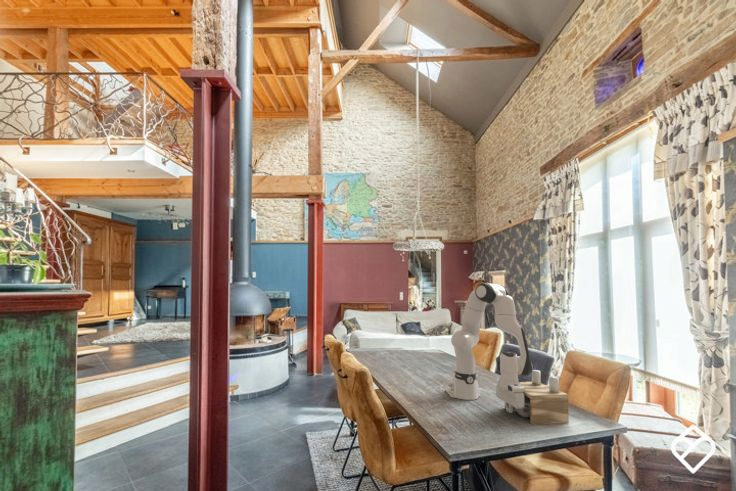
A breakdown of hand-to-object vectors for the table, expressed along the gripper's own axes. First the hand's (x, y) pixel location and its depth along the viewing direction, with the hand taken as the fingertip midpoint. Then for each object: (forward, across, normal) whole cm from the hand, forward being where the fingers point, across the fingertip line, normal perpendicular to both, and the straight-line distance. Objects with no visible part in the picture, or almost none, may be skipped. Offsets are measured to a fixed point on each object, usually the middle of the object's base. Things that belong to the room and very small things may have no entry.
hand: (509, 412), depth 193 cm
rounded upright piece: (-11, -7, +21) cm, 25 cm away
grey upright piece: (-11, +7, +21) cm, 25 cm away
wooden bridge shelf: (+2, 0, +15) cm, 15 cm away
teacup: (+2, 0, +8) cm, 8 cm away
